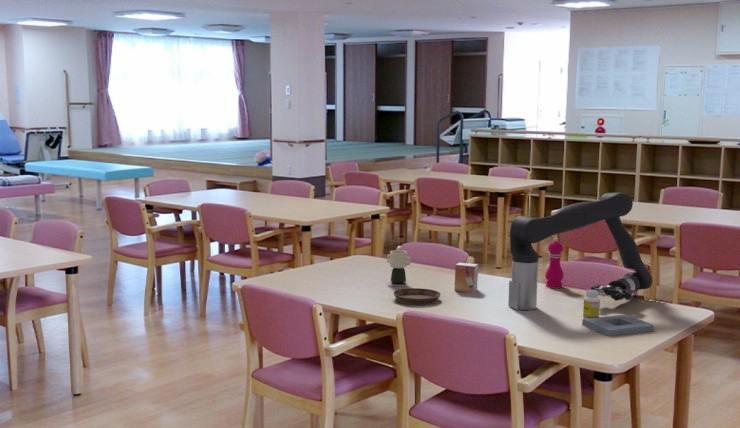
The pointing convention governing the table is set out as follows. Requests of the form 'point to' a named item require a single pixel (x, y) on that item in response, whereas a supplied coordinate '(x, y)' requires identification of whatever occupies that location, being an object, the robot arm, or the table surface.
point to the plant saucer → (417, 296)
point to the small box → (466, 277)
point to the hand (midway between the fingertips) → (604, 295)
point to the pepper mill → (554, 265)
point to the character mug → (398, 265)
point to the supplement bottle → (591, 304)
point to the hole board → (626, 325)
